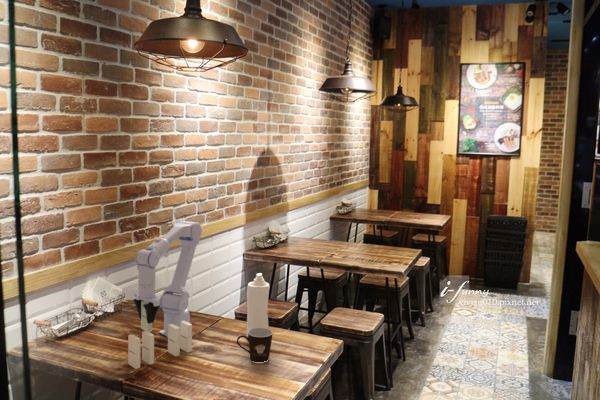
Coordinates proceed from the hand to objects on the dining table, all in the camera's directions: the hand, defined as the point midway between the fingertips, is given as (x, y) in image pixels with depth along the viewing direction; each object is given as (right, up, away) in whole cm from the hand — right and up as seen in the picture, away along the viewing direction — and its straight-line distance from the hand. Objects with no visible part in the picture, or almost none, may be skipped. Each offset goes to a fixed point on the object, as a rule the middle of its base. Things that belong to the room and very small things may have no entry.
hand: (146, 320), depth 183 cm
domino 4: (+10, -11, -2) cm, 15 cm away
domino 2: (0, -3, 0) cm, 3 cm away
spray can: (+38, -11, +16) cm, 42 cm away
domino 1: (0, -12, -13) cm, 18 cm away
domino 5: (+14, -11, +2) cm, 17 cm away
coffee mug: (+39, -13, -3) cm, 41 cm away
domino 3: (+3, -12, -9) cm, 15 cm away
